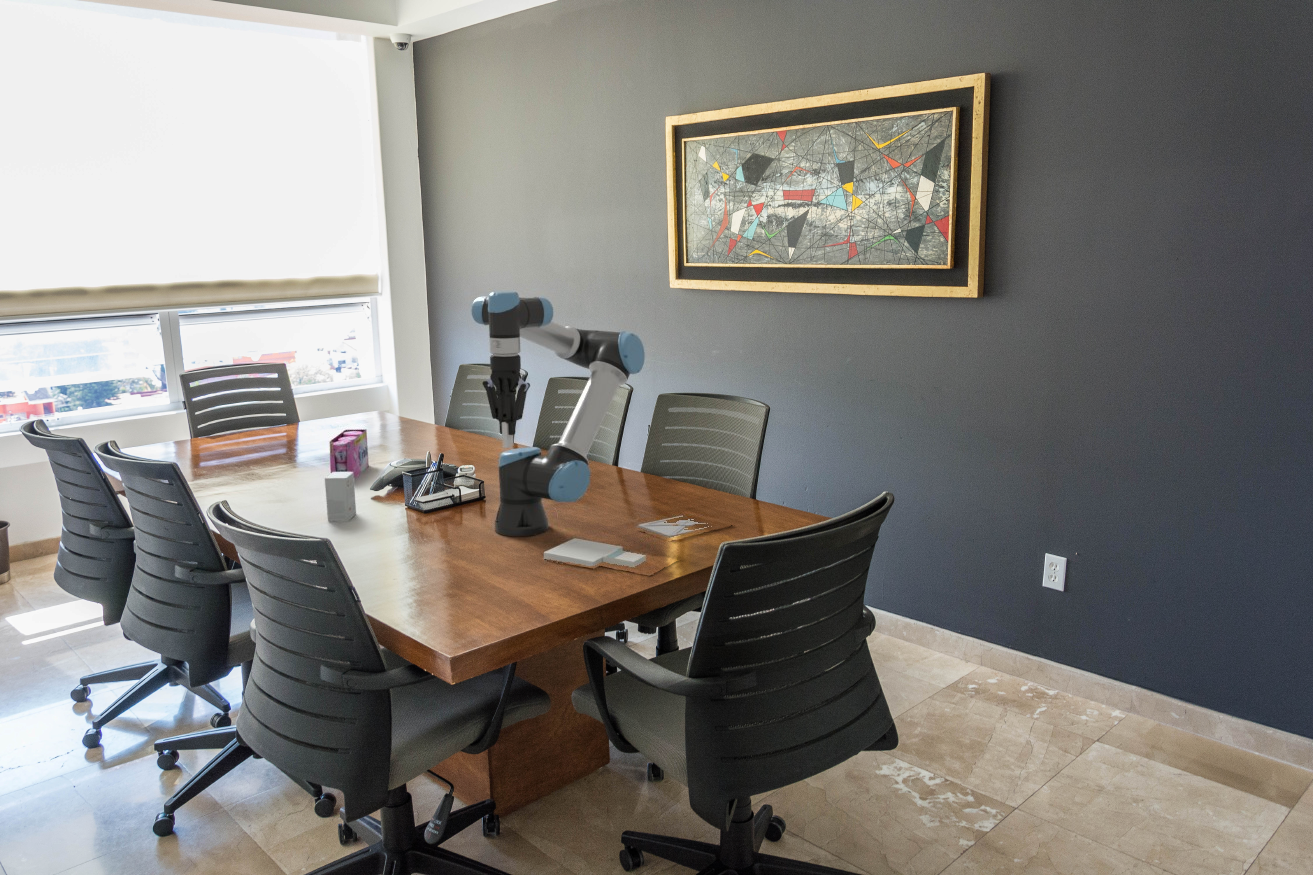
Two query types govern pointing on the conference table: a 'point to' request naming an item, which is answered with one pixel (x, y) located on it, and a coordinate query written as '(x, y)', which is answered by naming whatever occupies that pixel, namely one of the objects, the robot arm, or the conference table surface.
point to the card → (624, 558)
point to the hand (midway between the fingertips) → (508, 446)
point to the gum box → (349, 452)
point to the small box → (340, 496)
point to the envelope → (670, 527)
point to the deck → (580, 552)
